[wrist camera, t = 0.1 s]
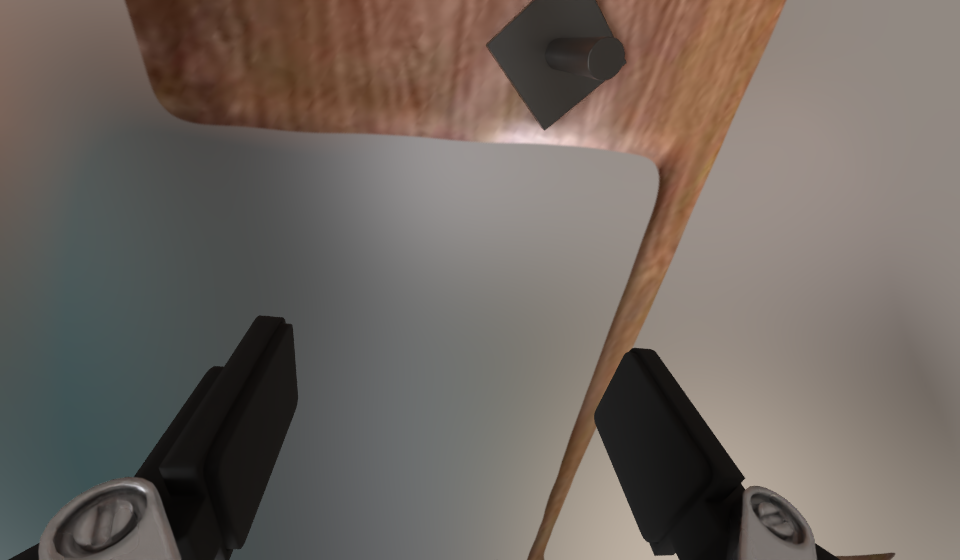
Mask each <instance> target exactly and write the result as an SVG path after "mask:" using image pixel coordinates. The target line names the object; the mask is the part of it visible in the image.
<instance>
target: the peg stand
mask: <svg viewBox="0 0 960 560" xmlns="http://www.w3.org/2000/svg"><path fill="white" fill-rule="evenodd" d="M486 47H487V48H488V50H489V51H490V53H491V54H492V56H493V57H494V59H495V60H496V62H497V63H498V64H499V66H500V67H501V69H502V70H503V72H504V73H505V75H506V76H507V78H508V79H509V81H510V82H511V84H512V85H513V87H514V88H515V90H516V91H517V93H518V94H519V95H520V97H521V98H522V100H523V101H524V103H525V104H526V106H527V107H528V109H529V110H530V112H531V113H532V115H533V116H534V118H535V119H536V121H537V122H538V124H539V125H540V127H541V128H542V129H543V130H546V129H547V128H548V127H550V126H551V125H552V124H553V123H554V122H556V121H557V120H558V119H559V118H560V117H562V116H563V115H564V114H565V113H566V112H568V111H569V110H570V109H571V108H573V107H574V106H575V105H576V104H577V103H579V102H580V101H581V100H582V99H583V98H585V97H586V96H587V95H588V94H589V93H591V92H592V91H593V90H594V89H595V88H597V87H598V86H599V85H600V84H602V83H603V82H604V81H605V80H608V79H610V78H612V77H614V76H615V75H616V74H617V73H618V72H619V70H620V69H621V67H622V66H623V65H625V64H626V60H625V58H624V57H625V52H624V47H623V45H622V43H621V42H620V41H619V40H618V39H617V38H615V37H614V36H613V34H612V32H611V30H610V28H609V26H608V24H607V22H606V20H605V18H604V16H603V14H602V12H601V10H600V8H599V6H598V4H597V2H596V0H532V1H531V2H530V3H529V4H528V5H527V6H526V7H525V8H524V9H523V10H522V11H521V12H520V13H519V14H518V15H517V16H516V17H514V18H513V19H512V20H511V21H510V22H509V23H508V24H507V25H506V26H505V27H504V28H503V29H502V30H501V31H500V32H499V33H498V34H497V35H496V36H494V37H493V38H492V39H491V40H490V41H489V42H488V43H487V44H486Z"/></svg>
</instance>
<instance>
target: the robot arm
mask: <svg viewBox="0 0 960 560" xmlns="http://www.w3.org/2000/svg"><path fill="white" fill-rule="evenodd" d="M297 401H298V390H297V378H296V364H295V350H294V338H293V327H292V324H286V323H285V319H284V318H282V317H270V316H258V317H257V318H256V319H255V320H254V322H253V323H252V325H251V327H250V328H249V330H248V331H247V333H246V334H245V336H244V337H243V339H242V340H241V342H240V343H239V345H238V346H237V348H236V349H235V351H234V353H233V354H232V356H231V357H230V359H229V361H228V362H227V363H226V365H225V366H224V367H220V366H214V367H212V368H211V369H209V371H208V372H207V373H206V374H205V375H204V377H203V378H202V380H201V381H200V383H199V384H198V385H197V387H196V388H195V390H194V391H193V393H192V394H191V395H190V397H189V398H188V400H187V401H186V403H185V404H184V406H183V407H182V408H181V410H180V412H179V413H178V414H177V416H176V417H175V419H174V420H173V421H172V423H171V424H170V426H169V427H168V429H167V430H166V432H165V433H164V434H163V436H162V437H161V439H160V440H159V442H158V443H157V444H156V446H155V447H154V449H153V450H152V452H151V453H150V454H149V456H148V457H147V459H146V460H145V462H144V463H143V465H142V466H141V468H140V469H139V470H138V472H137V473H136V475H135V476H134V477H125V478H119V479H113V480H110V481H107V482H105V483H102V484H99V485H96V486H94V487H92V488H91V489H89V490H87V491H85V492H83V493H81V494H80V495H78V496H77V497H75V498H74V499H73V500H71V501H70V502H69V503H68V504H66V505H65V506H64V507H63V508H61V510H59V512H58V513H57V514H56V515H55V516H54V517H53V518H52V519H51V520H50V522H49V523H48V525H47V526H46V528H45V530H44V532H43V534H42V536H41V538H40V543H38V544H37V545H35V546H33V547H31V548H29V549H27V550H25V551H24V552H22V553H20V554H18V555H16V556H14V557H13V558H11V559H9V560H229V559H230V557H231V554H232V552H233V549H241V548H242V546H243V545H244V543H245V540H246V538H247V536H248V533H249V530H250V528H251V525H252V522H253V520H254V517H255V515H256V512H257V509H258V507H259V504H260V502H261V499H262V496H263V494H264V491H265V489H266V486H267V483H268V481H269V478H270V475H271V473H272V470H273V468H274V465H275V462H276V460H277V457H278V455H279V451H280V449H281V447H282V444H283V441H284V439H285V436H286V434H287V431H288V428H289V426H290V423H291V420H292V418H293V415H294V412H295V410H296V406H297ZM594 420H595V424H596V426H597V429H598V431H599V434H600V436H601V438H602V441H603V443H604V446H605V448H606V450H607V453H608V455H609V458H610V460H611V462H612V465H613V467H614V470H615V472H616V474H617V477H618V479H619V482H620V484H621V486H622V489H623V491H624V493H625V496H626V498H627V501H628V503H629V506H630V508H631V510H632V513H633V515H634V518H635V520H636V522H637V525H638V527H639V530H640V532H641V534H642V536H643V538H644V539H645V540H646V541H647V542H649V543H650V546H651V548H652V550H653V553H654V555H655V556H656V555H657V556H658V555H674V554H675V553H676V554H677V556H678V558H679V560H840V559H838V558H837V557H835V556H834V555H832V554H830V553H829V552H827V551H826V550H825V549H823V548H822V547H820V546H819V545H817V544H815V540H814V536H813V533H812V530H811V528H810V526H809V525H808V523H807V521H806V520H805V518H804V517H803V516H802V515H801V513H800V512H799V511H798V510H797V509H796V508H795V507H794V506H793V505H792V504H791V503H790V502H788V501H787V500H786V499H785V498H783V497H782V496H780V495H779V494H777V493H776V492H773V491H771V490H769V489H767V488H764V487H760V486H750V487H749V488H747V489H746V490H745V489H744V487H743V486H742V484H741V482H742V481H743V480H744V479H745V478H744V476H743V475H742V473H741V472H740V470H739V469H738V468H737V466H736V465H735V463H734V462H733V460H732V459H731V458H730V456H729V455H728V453H727V452H726V451H725V449H724V448H723V446H722V445H721V443H720V442H719V441H718V439H717V438H716V436H715V435H714V434H713V432H712V431H711V429H710V428H709V427H708V425H707V424H706V422H705V421H704V420H703V418H702V417H701V415H700V414H699V412H698V411H697V410H696V408H695V407H694V405H693V404H692V403H691V401H690V400H689V398H688V397H687V396H686V394H685V393H684V391H683V390H682V388H681V387H680V386H679V384H678V383H677V381H676V380H675V378H674V377H673V376H672V374H671V373H670V372H669V370H668V369H667V367H666V366H665V364H664V363H663V362H662V360H661V359H660V357H659V356H658V355H657V353H656V352H655V351H654V350H651V349H641V348H632V349H631V350H630V351H629V352H627V353H625V355H624V356H623V358H622V360H621V362H620V364H619V366H618V368H617V370H616V372H615V374H614V376H613V378H612V379H611V381H610V383H609V385H608V387H607V389H606V391H605V393H604V395H603V397H602V399H601V401H600V403H599V405H598V407H597V409H596V411H595V415H594Z"/></svg>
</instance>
